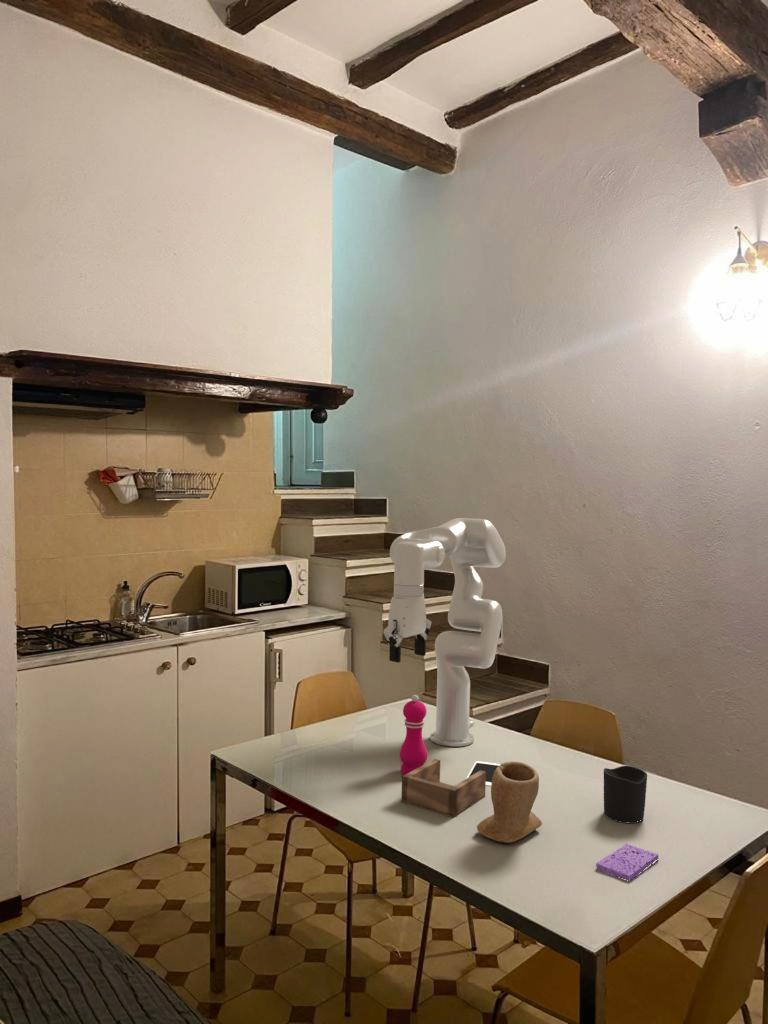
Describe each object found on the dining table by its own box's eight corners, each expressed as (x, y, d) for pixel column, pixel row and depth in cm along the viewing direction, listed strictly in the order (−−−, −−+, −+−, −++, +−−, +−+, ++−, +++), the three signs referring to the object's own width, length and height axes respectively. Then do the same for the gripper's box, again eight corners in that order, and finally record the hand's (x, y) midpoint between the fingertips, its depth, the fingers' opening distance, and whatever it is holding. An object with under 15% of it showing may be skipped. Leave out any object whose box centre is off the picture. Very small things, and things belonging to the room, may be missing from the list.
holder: (434, 782, 196) (435, 758, 196) (485, 796, 188) (485, 771, 188) (401, 801, 184) (402, 776, 184) (454, 817, 176) (454, 790, 176)
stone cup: (515, 854, 159) (518, 780, 158) (469, 835, 167) (471, 764, 167) (556, 832, 170) (559, 763, 169) (511, 815, 178) (513, 749, 178)
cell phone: (463, 784, 197) (464, 781, 197) (475, 763, 212) (476, 760, 212) (495, 788, 195) (495, 786, 195) (505, 766, 210) (505, 764, 210)
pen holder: (644, 827, 173) (646, 782, 173) (600, 820, 177) (602, 776, 176) (646, 811, 182) (647, 768, 182) (604, 804, 185) (605, 762, 185)
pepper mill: (427, 768, 206) (429, 692, 205) (426, 778, 199) (428, 699, 198) (400, 766, 207) (402, 690, 206) (397, 776, 200) (399, 698, 199)
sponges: (658, 863, 158) (659, 853, 158) (629, 884, 149) (629, 875, 149) (625, 851, 163) (626, 842, 163) (595, 871, 154) (595, 862, 154)
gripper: (419, 585, 208) (418, 650, 209) (374, 593, 195) (373, 661, 196) (441, 589, 203) (440, 655, 204) (397, 596, 190) (396, 667, 191)
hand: (407, 658), depth 200 cm, fingers open, 9 cm apart
